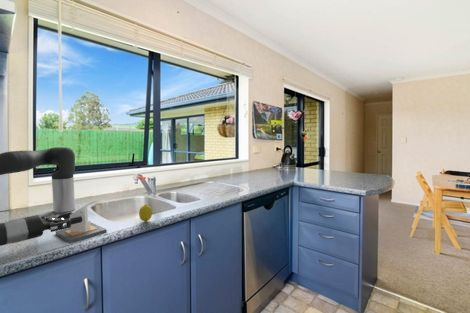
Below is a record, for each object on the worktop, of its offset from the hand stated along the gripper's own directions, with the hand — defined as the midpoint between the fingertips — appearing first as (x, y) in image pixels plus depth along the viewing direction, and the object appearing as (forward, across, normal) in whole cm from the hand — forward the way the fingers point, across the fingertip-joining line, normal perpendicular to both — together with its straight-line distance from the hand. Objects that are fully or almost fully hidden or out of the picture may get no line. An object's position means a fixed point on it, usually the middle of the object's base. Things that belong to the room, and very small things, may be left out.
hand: (77, 216), depth 94 cm
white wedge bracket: (+1, -1, -6) cm, 6 cm away
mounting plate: (+2, -1, -7) cm, 7 cm away
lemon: (+25, +8, -8) cm, 27 cm away
